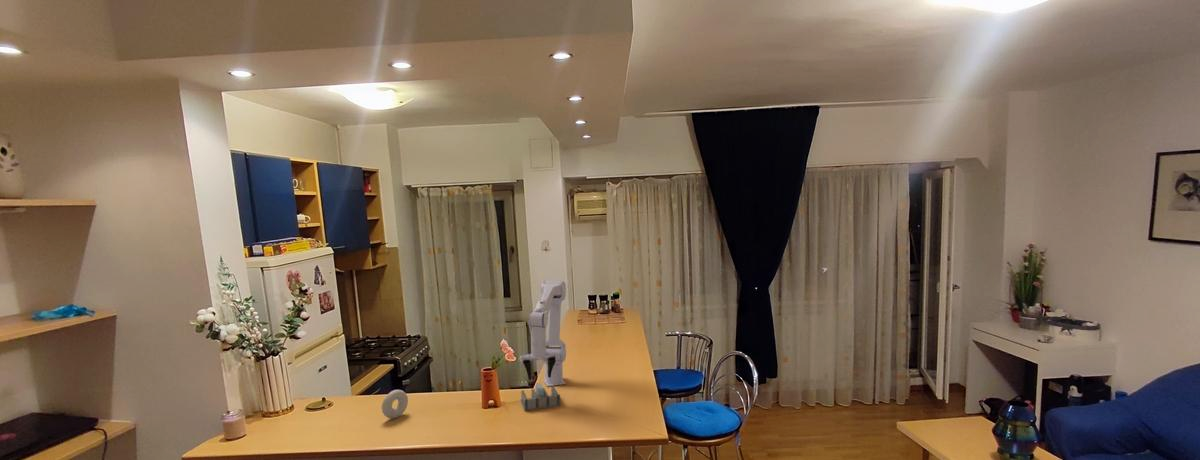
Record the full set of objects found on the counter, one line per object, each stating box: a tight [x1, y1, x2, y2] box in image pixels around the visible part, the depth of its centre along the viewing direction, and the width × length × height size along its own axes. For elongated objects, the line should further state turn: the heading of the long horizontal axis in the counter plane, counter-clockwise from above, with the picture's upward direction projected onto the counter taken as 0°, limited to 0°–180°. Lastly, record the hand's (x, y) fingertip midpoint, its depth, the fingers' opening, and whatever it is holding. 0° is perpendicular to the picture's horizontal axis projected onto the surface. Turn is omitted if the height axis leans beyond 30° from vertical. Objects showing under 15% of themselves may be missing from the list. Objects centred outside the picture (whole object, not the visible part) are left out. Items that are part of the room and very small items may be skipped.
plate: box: [535, 382, 545, 397], centre depth 180 cm, size 7×2×6 cm, turn 18°
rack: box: [520, 386, 561, 412], centre depth 179 cm, size 10×14×4 cm
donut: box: [381, 389, 409, 419], centre depth 169 cm, size 10×4×10 cm, turn 149°
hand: (539, 378), depth 179 cm, fingers open, 7 cm apart
